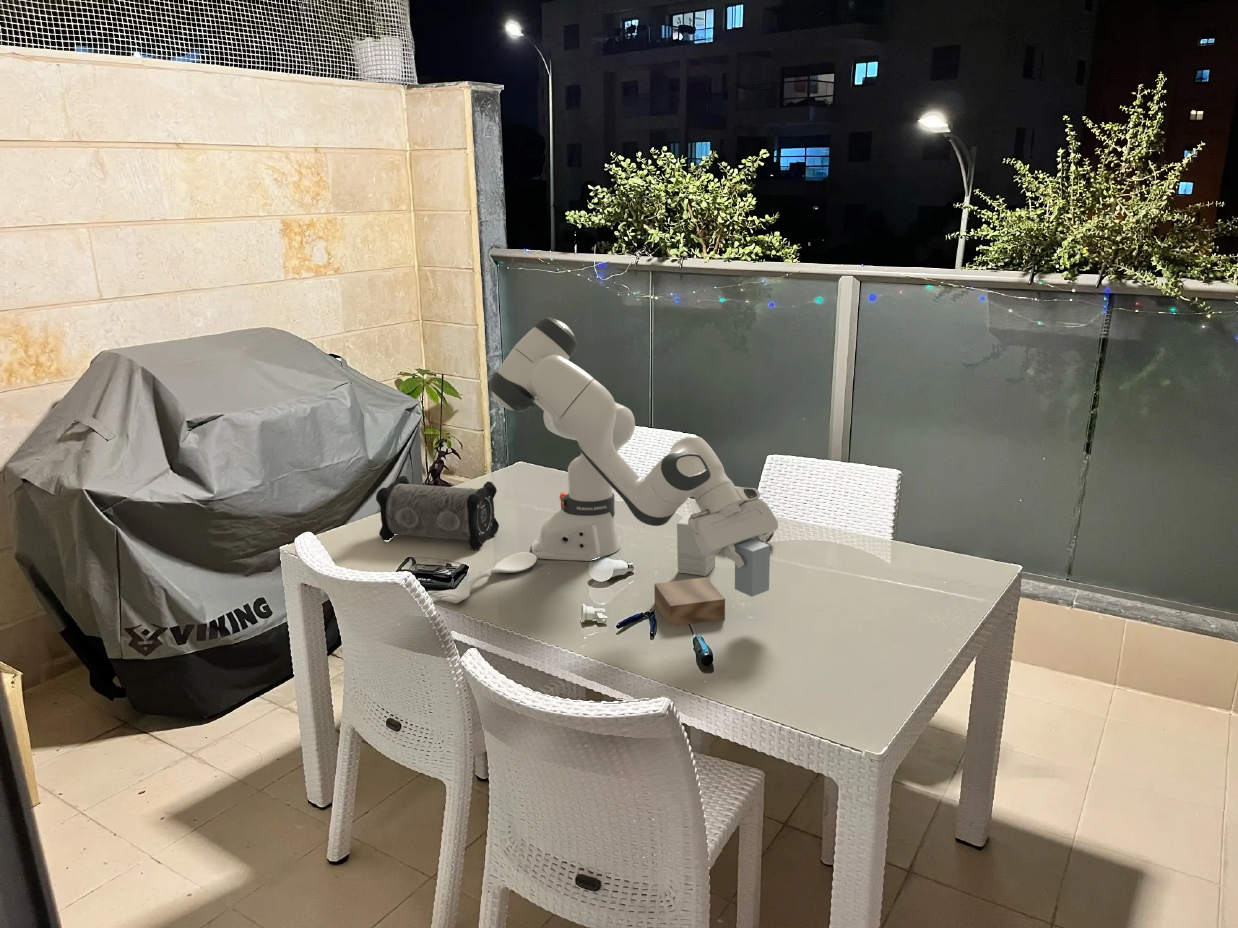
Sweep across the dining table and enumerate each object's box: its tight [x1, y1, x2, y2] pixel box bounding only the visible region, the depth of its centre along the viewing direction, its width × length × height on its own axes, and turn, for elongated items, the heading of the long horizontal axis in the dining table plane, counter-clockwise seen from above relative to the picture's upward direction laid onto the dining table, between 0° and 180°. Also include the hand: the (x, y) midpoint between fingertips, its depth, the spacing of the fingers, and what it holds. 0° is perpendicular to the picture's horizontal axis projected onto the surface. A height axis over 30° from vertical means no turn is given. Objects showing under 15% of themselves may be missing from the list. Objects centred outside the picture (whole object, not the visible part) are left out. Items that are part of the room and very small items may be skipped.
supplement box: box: [676, 513, 716, 577], centre depth 227 cm, size 7×7×13 cm
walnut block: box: [654, 576, 726, 627], centre depth 206 cm, size 12×12×5 cm
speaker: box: [375, 475, 500, 550], centre depth 250 cm, size 15×28×15 cm, turn 75°
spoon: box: [426, 551, 538, 604], centre depth 223 cm, size 9×32×4 cm, turn 147°
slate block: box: [734, 539, 771, 598], centre depth 197 cm, size 5×5×10 cm
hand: (754, 561), depth 196 cm, fingers closed on slate block, 5 cm apart
